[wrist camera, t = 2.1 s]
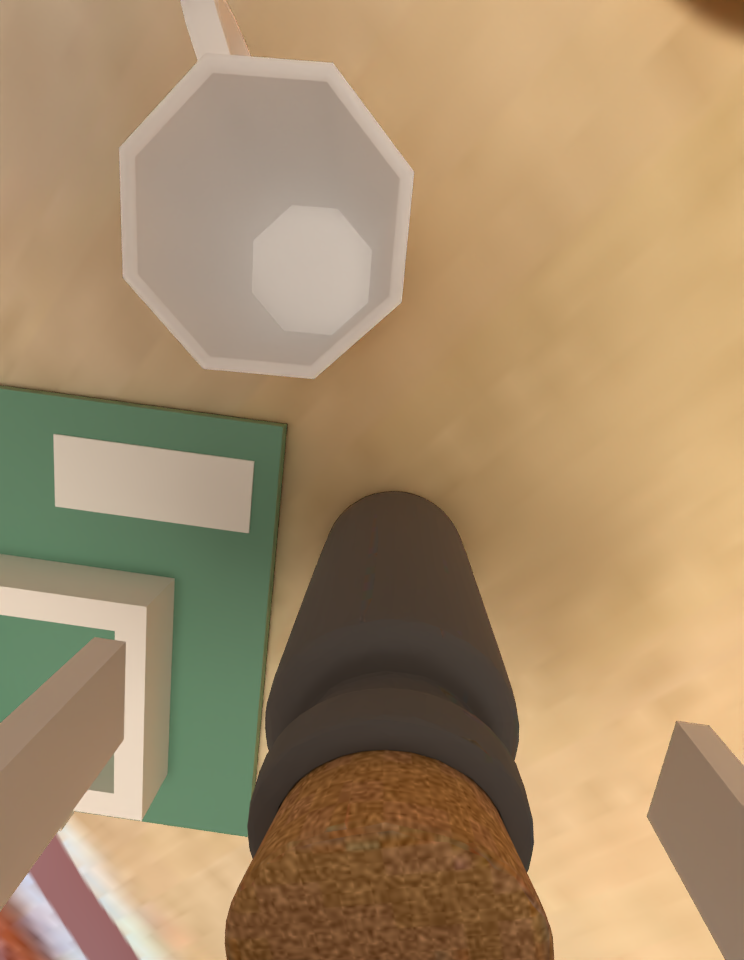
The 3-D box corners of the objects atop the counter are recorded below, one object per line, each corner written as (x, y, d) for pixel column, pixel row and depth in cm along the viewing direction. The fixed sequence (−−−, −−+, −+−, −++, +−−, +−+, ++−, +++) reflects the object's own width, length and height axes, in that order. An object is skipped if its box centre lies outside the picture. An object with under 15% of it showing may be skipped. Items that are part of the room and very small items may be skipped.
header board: (-55, 377, 21) (-137, 382, 18) (287, 424, 21) (266, 437, 17) (-25, 781, 26) (-85, 842, 23) (252, 822, 26) (231, 889, 22)
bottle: (335, 478, 21) (199, 758, 7) (476, 503, 21) (653, 839, 7) (315, 606, 23) (167, 1067, 8) (447, 629, 22) (539, 1135, 8)
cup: (262, 395, 20) (178, 422, 13) (165, 124, 18) (-9, -47, 10) (433, 340, 20) (457, 332, 12) (352, 49, 17) (316, -197, 10)
